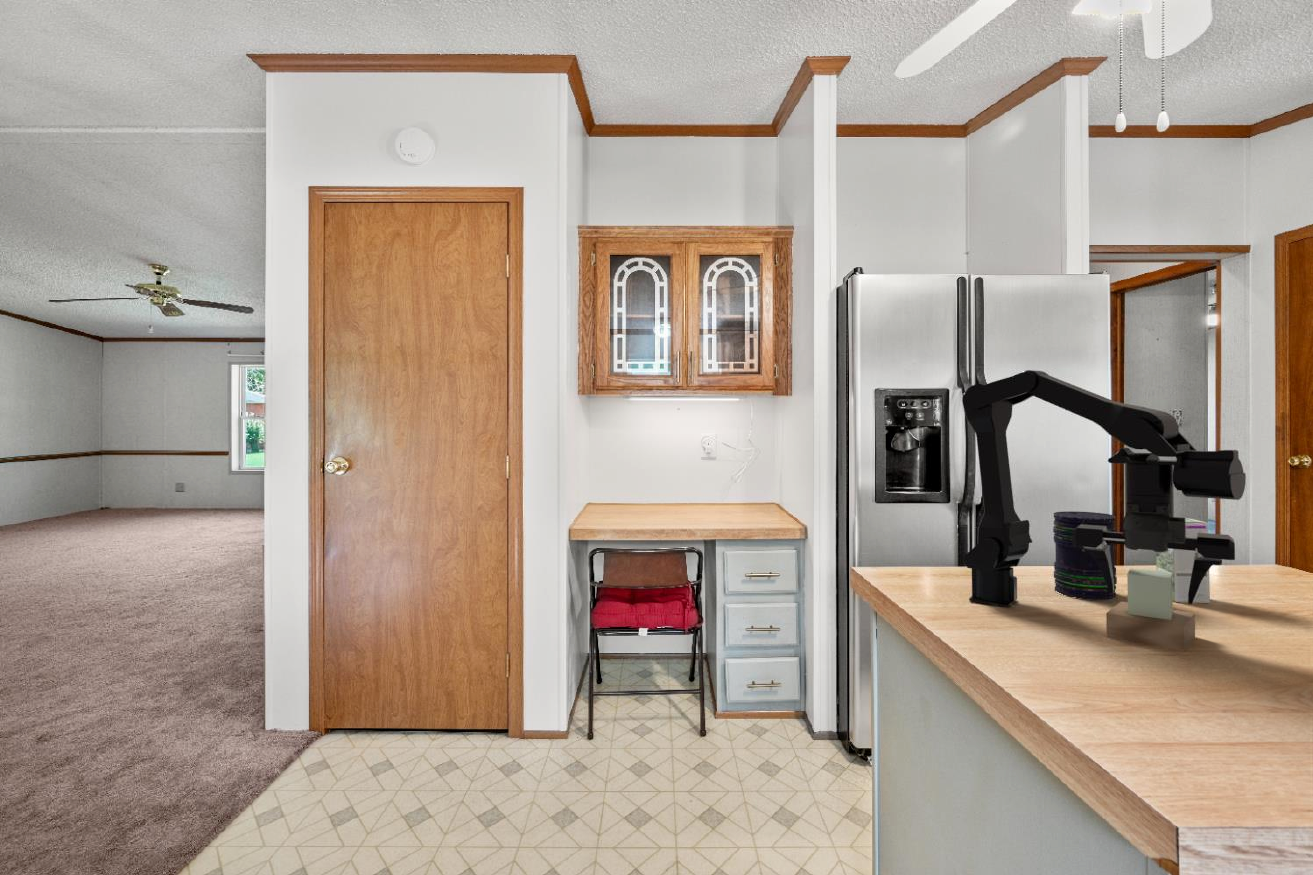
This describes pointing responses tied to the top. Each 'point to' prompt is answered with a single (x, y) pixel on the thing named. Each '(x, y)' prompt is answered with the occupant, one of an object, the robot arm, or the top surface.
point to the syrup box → (1184, 566)
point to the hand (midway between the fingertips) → (1149, 598)
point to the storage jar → (1080, 557)
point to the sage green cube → (1150, 593)
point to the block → (1151, 628)
